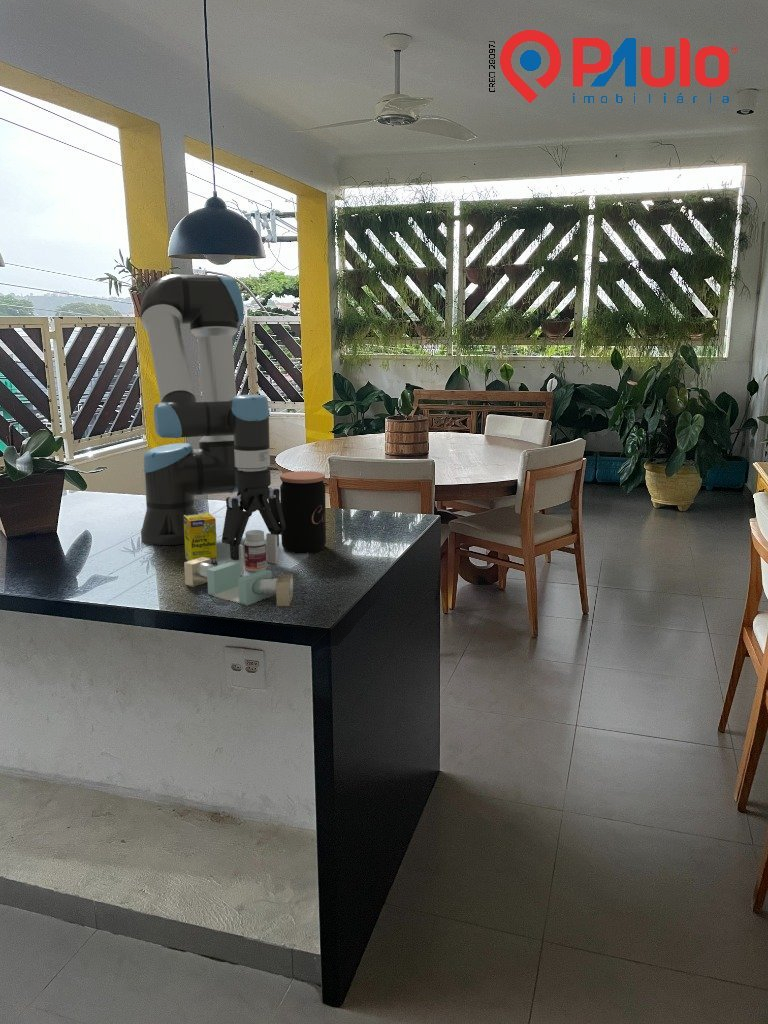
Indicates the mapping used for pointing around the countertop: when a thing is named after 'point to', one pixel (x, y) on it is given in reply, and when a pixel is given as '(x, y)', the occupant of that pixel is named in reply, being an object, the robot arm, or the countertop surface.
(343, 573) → the countertop surface
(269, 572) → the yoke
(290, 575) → the shaft
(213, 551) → the supplement box
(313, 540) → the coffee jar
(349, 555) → the countertop surface
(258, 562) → the pill bottle
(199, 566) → the shaft
